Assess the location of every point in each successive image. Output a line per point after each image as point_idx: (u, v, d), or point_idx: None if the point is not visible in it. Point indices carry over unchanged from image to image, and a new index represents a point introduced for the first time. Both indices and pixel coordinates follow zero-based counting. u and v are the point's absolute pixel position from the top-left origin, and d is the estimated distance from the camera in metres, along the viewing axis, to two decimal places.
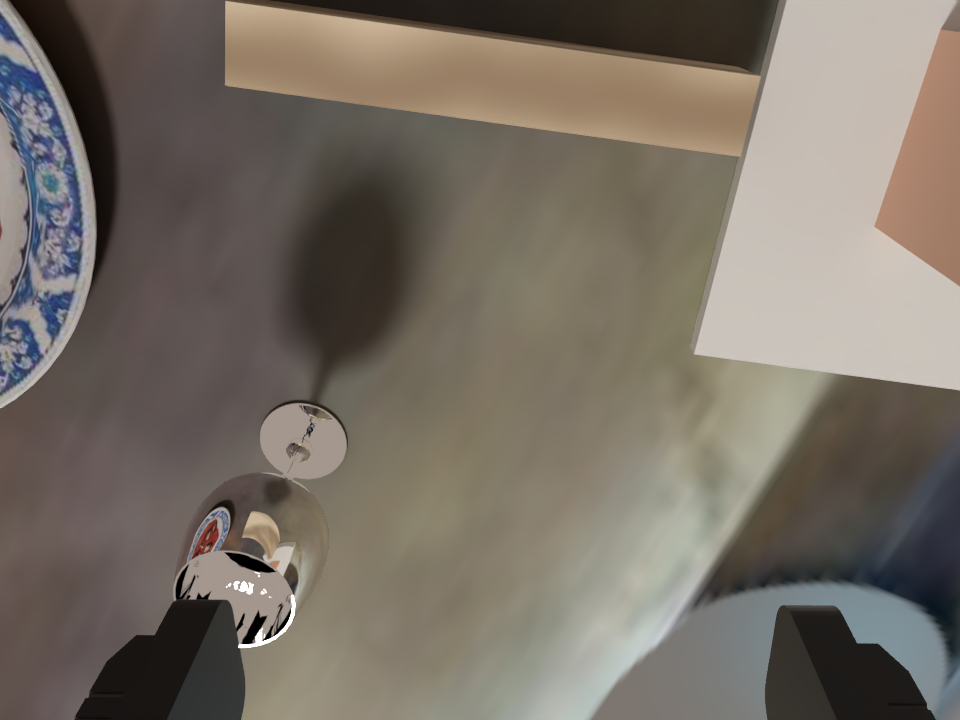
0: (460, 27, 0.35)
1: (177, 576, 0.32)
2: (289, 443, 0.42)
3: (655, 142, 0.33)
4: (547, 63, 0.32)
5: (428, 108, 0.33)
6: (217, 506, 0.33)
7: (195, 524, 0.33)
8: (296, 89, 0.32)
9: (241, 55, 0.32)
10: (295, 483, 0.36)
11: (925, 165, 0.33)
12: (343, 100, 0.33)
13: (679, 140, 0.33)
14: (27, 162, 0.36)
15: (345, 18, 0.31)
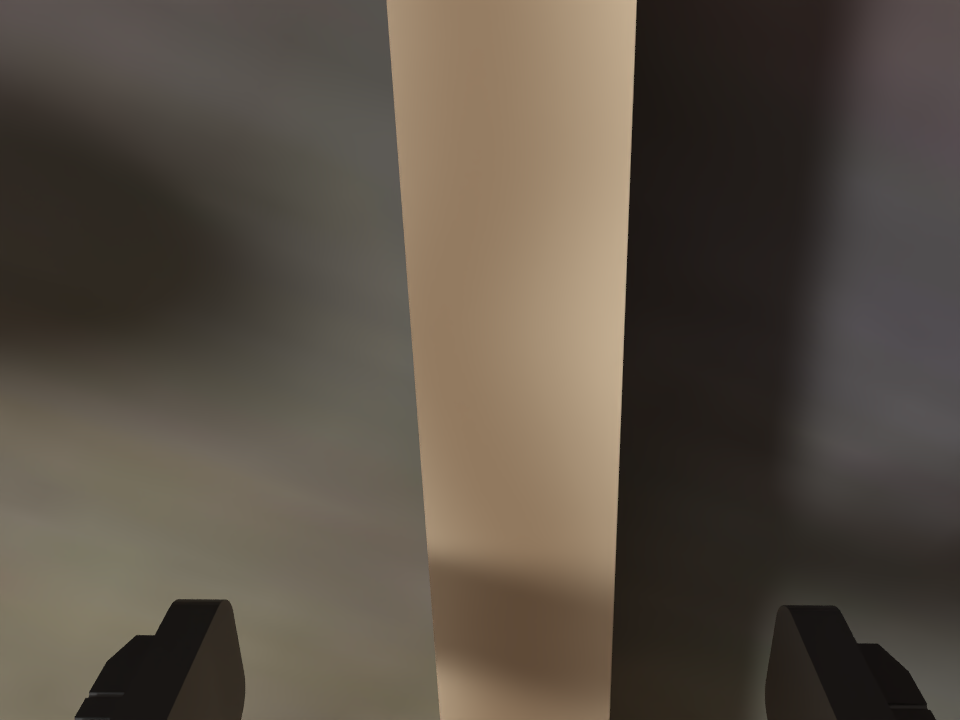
0: None
1: None
2: None
3: None
4: (576, 692, 0.15)
5: (435, 485, 0.13)
6: None
7: None
8: (414, 154, 0.11)
9: None
10: None
11: None
12: (411, 287, 0.12)
13: None
14: None
15: (623, 273, 0.12)
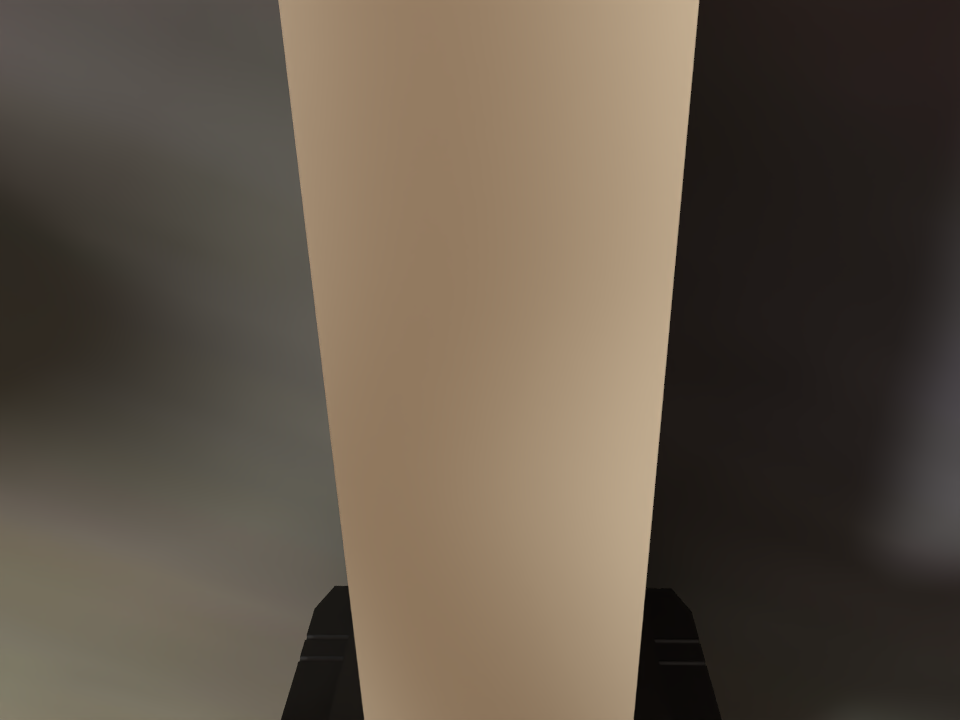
0: None
1: None
2: None
3: None
4: None
5: (376, 680, 0.09)
6: None
7: None
8: (333, 236, 0.07)
9: None
10: None
11: None
12: (334, 426, 0.08)
13: None
14: None
15: (657, 411, 0.08)
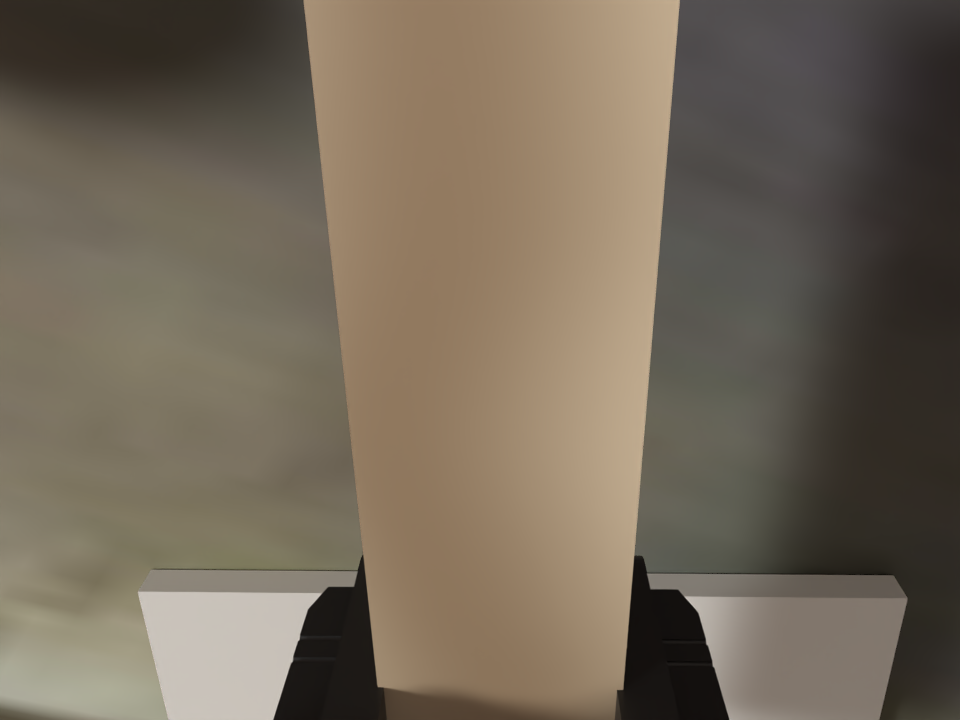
0: None
1: None
2: None
3: None
4: None
5: (387, 624, 0.10)
6: None
7: None
8: (349, 204, 0.08)
9: None
10: None
11: None
12: (349, 381, 0.08)
13: None
14: None
15: (645, 367, 0.08)
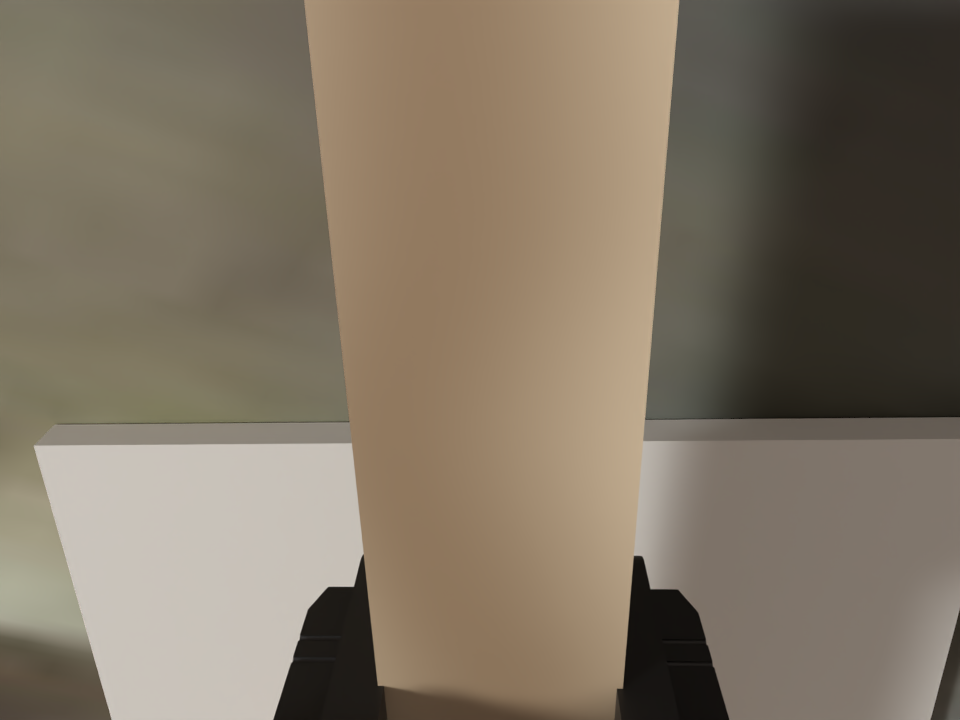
0: None
1: None
2: None
3: None
4: None
5: (387, 622, 0.10)
6: None
7: None
8: (349, 202, 0.08)
9: None
10: None
11: None
12: (349, 379, 0.08)
13: None
14: None
15: (645, 365, 0.08)
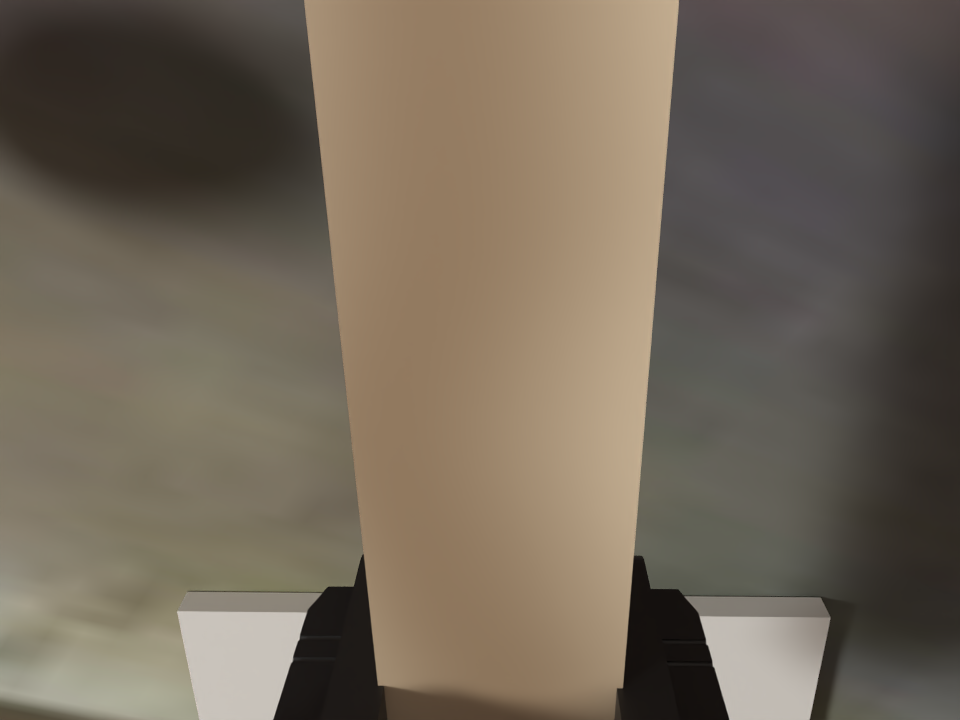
0: None
1: None
2: None
3: None
4: None
5: (387, 622, 0.10)
6: None
7: None
8: (350, 203, 0.08)
9: None
10: None
11: None
12: (350, 380, 0.08)
13: None
14: None
15: (645, 365, 0.08)
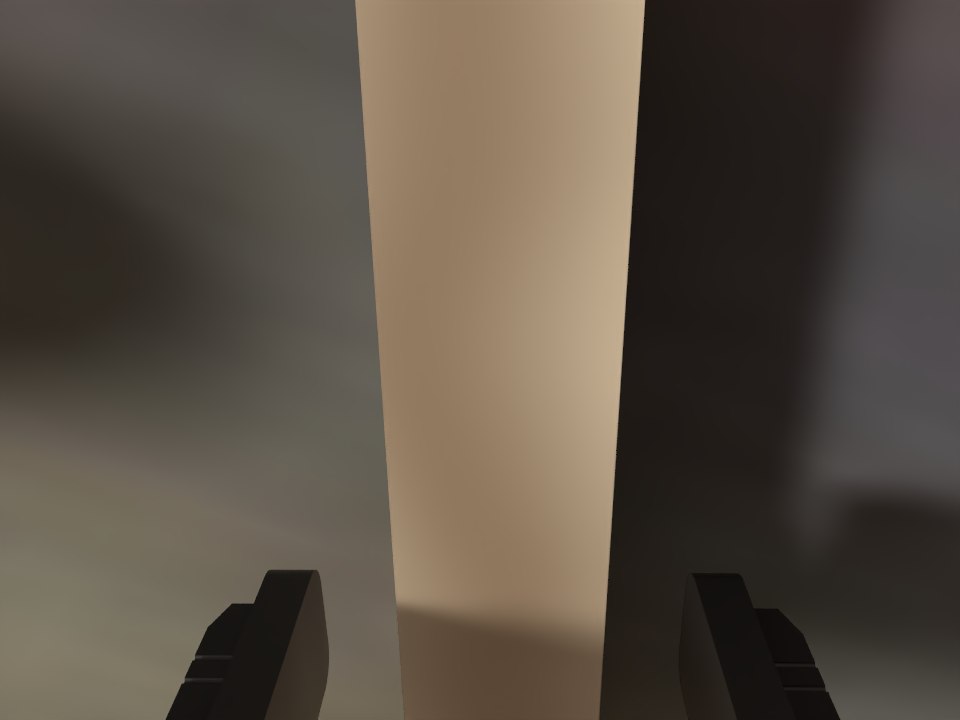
0: None
1: None
2: None
3: None
4: None
5: (404, 513, 0.12)
6: None
7: None
8: (383, 132, 0.09)
9: None
10: None
11: None
12: (379, 287, 0.10)
13: None
14: None
15: (624, 275, 0.10)
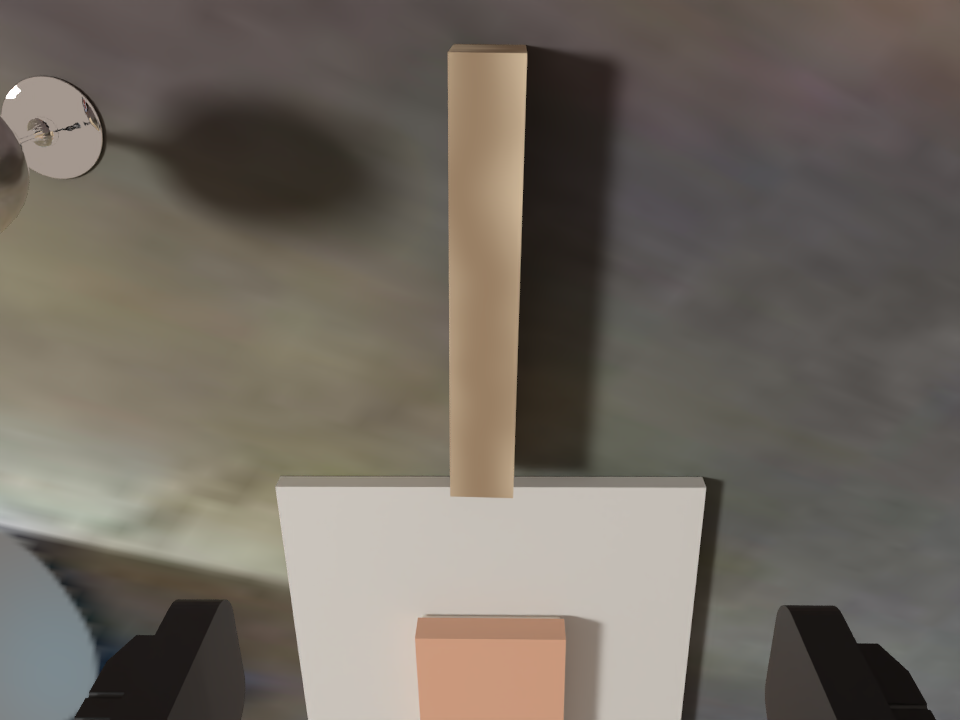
0: None
1: None
2: (46, 119, 0.37)
3: (451, 435, 0.39)
4: (504, 344, 0.37)
5: (453, 250, 0.35)
6: None
7: None
8: (453, 125, 0.33)
9: (478, 69, 0.32)
10: (27, 194, 0.31)
11: (475, 673, 0.46)
12: (449, 172, 0.34)
13: (456, 451, 0.40)
14: None
15: (522, 170, 0.34)
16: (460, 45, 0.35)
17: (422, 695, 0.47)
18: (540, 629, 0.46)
